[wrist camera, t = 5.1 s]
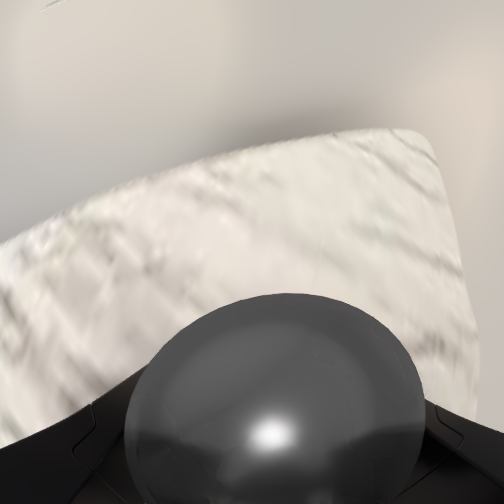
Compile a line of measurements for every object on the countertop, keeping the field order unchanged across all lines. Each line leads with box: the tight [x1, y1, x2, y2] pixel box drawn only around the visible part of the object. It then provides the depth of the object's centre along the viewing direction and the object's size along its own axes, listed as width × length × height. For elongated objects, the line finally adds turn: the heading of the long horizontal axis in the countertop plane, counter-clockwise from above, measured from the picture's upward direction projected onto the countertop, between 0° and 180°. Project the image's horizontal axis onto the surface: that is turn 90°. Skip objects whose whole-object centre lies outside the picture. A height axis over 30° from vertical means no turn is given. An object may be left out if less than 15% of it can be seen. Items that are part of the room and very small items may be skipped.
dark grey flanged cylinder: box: [124, 293, 426, 504], centre depth 9 cm, size 6×6×11 cm
